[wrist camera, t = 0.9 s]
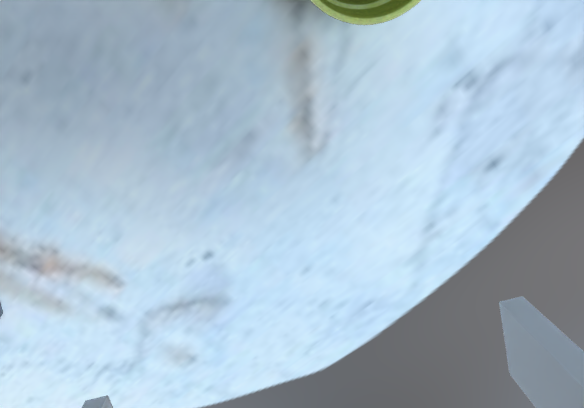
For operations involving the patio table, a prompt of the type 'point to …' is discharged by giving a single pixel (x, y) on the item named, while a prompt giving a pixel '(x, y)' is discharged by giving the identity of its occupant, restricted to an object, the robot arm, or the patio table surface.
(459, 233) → the patio table surface
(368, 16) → the plant pot
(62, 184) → the patio table surface
